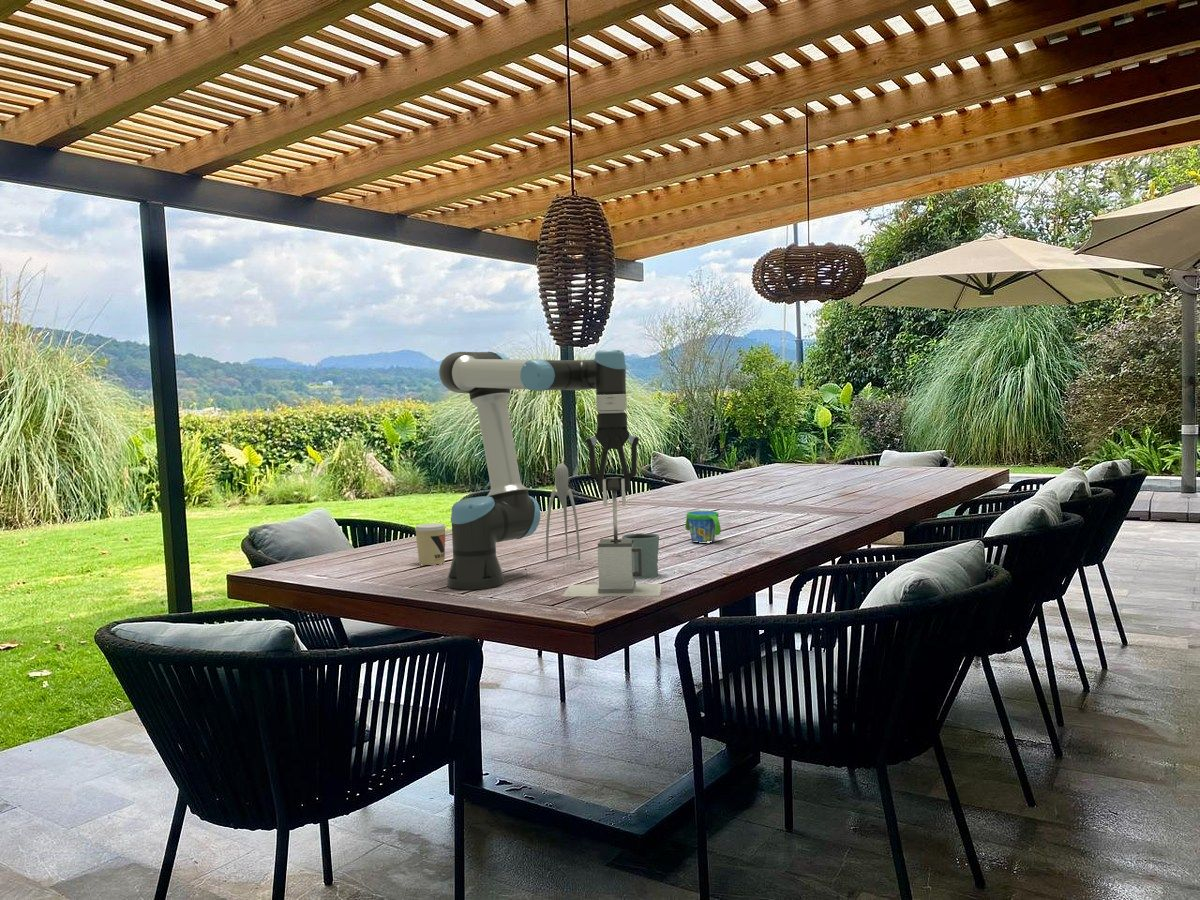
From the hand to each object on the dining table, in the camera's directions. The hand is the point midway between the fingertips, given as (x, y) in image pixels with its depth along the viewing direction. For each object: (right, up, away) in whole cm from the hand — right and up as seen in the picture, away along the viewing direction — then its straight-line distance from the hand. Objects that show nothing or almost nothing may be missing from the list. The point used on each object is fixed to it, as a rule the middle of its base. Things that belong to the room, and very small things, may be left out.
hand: (614, 505), depth 230 cm
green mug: (+8, -22, +20) cm, 30 cm away
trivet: (0, -23, +1) cm, 23 cm away
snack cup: (+31, -18, +78) cm, 86 cm away
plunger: (0, -11, +1) cm, 11 cm away
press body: (+1, -21, +1) cm, 21 cm away
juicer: (-15, -20, +56) cm, 61 cm away
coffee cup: (-56, -22, +55) cm, 81 cm away
